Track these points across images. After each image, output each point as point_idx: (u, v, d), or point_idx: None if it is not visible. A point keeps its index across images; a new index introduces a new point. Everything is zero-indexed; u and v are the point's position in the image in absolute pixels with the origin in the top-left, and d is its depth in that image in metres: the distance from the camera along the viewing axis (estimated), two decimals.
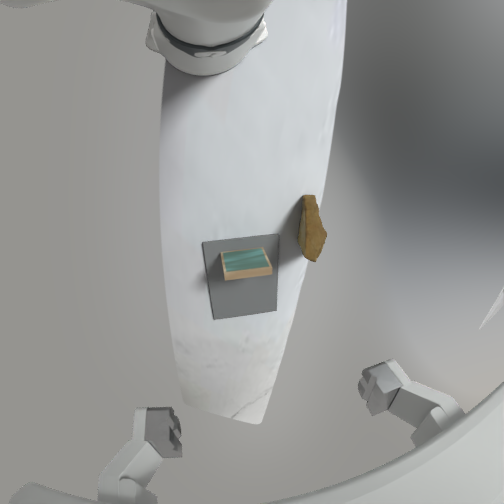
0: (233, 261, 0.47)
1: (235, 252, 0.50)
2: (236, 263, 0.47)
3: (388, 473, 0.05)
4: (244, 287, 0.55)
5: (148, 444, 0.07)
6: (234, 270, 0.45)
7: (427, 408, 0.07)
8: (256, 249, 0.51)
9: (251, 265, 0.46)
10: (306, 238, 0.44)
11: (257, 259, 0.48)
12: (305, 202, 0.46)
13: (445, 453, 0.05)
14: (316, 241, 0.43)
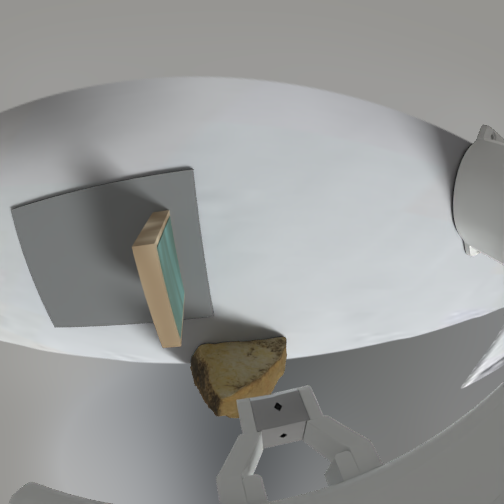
0: (168, 251, 0.18)
1: (173, 244, 0.21)
2: (166, 259, 0.18)
3: (388, 473, 0.05)
4: (87, 267, 0.22)
5: (260, 434, 0.08)
6: (162, 266, 0.16)
7: (338, 449, 0.07)
8: (182, 283, 0.24)
9: (172, 299, 0.18)
10: (250, 384, 0.21)
11: (177, 301, 0.20)
12: (285, 348, 0.27)
13: (445, 453, 0.05)
14: None
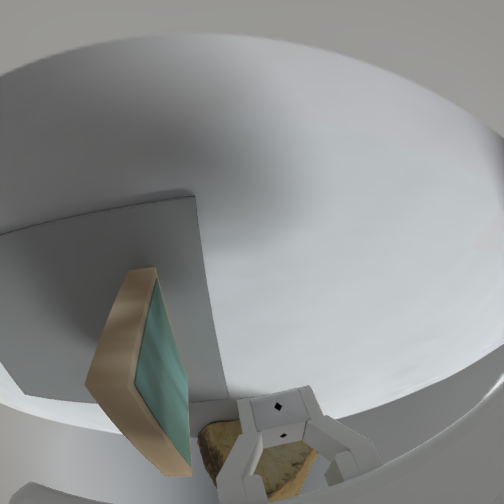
0: (157, 353, 0.10)
1: (167, 322, 0.13)
2: (157, 368, 0.09)
3: (388, 473, 0.05)
4: (47, 339, 0.13)
5: (260, 434, 0.08)
6: (150, 406, 0.07)
7: (338, 449, 0.07)
8: (183, 368, 0.15)
9: (172, 427, 0.09)
10: (283, 486, 0.12)
11: (180, 411, 0.11)
12: None
13: (445, 453, 0.05)
14: None
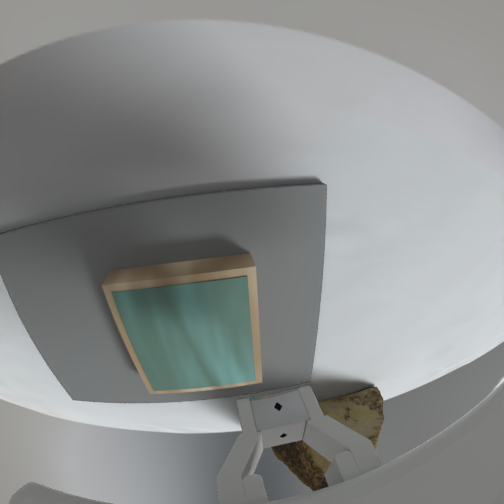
0: (176, 314, 0.12)
1: (241, 318, 0.13)
2: (169, 320, 0.12)
3: (388, 473, 0.05)
4: None
5: (260, 434, 0.08)
6: (121, 316, 0.11)
7: (338, 449, 0.07)
8: (255, 369, 0.14)
9: (153, 357, 0.13)
10: None
11: (191, 371, 0.14)
12: None
13: (445, 453, 0.05)
14: None
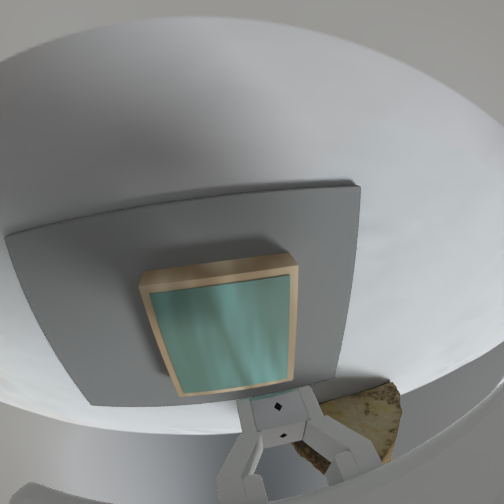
0: (217, 314, 0.12)
1: (280, 317, 0.13)
2: (208, 321, 0.12)
3: (388, 473, 0.05)
4: None
5: (260, 434, 0.08)
6: (158, 318, 0.12)
7: (338, 448, 0.07)
8: (287, 367, 0.15)
9: (187, 359, 0.13)
10: (388, 450, 0.14)
11: (224, 372, 0.14)
12: None
13: (445, 453, 0.05)
14: None
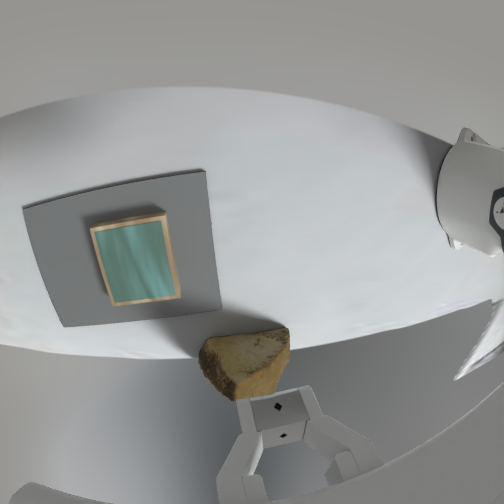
0: (126, 243, 0.22)
1: (160, 246, 0.22)
2: (123, 248, 0.22)
3: (388, 473, 0.05)
4: None
5: (260, 434, 0.08)
6: (98, 246, 0.21)
7: (338, 448, 0.07)
8: (174, 286, 0.24)
9: (114, 274, 0.22)
10: (261, 369, 0.23)
11: (136, 285, 0.23)
12: (288, 338, 0.29)
13: (445, 453, 0.05)
14: (262, 386, 0.23)
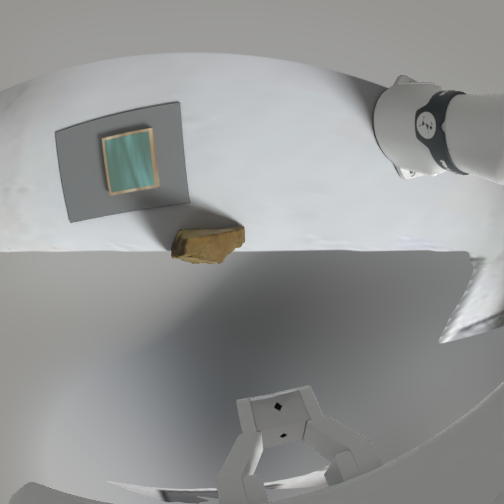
0: (125, 147, 0.30)
1: (147, 148, 0.31)
2: (122, 151, 0.30)
3: (388, 473, 0.05)
4: None
5: (260, 434, 0.08)
6: (106, 150, 0.30)
7: (338, 448, 0.07)
8: (154, 177, 0.33)
9: (114, 170, 0.31)
10: (210, 236, 0.32)
11: (128, 178, 0.32)
12: (241, 229, 0.37)
13: (445, 453, 0.05)
14: (209, 250, 0.31)
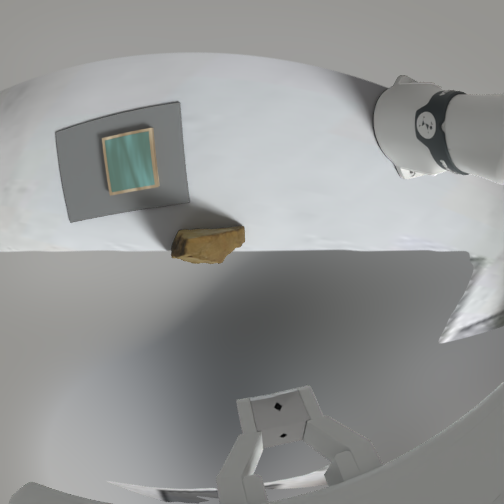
0: (125, 147, 0.30)
1: (147, 148, 0.31)
2: (122, 150, 0.30)
3: (388, 473, 0.05)
4: None
5: (260, 434, 0.08)
6: (106, 150, 0.30)
7: (338, 449, 0.07)
8: (154, 177, 0.33)
9: (114, 170, 0.31)
10: (210, 236, 0.32)
11: (128, 177, 0.32)
12: (241, 229, 0.37)
13: (445, 453, 0.05)
14: (210, 250, 0.31)
